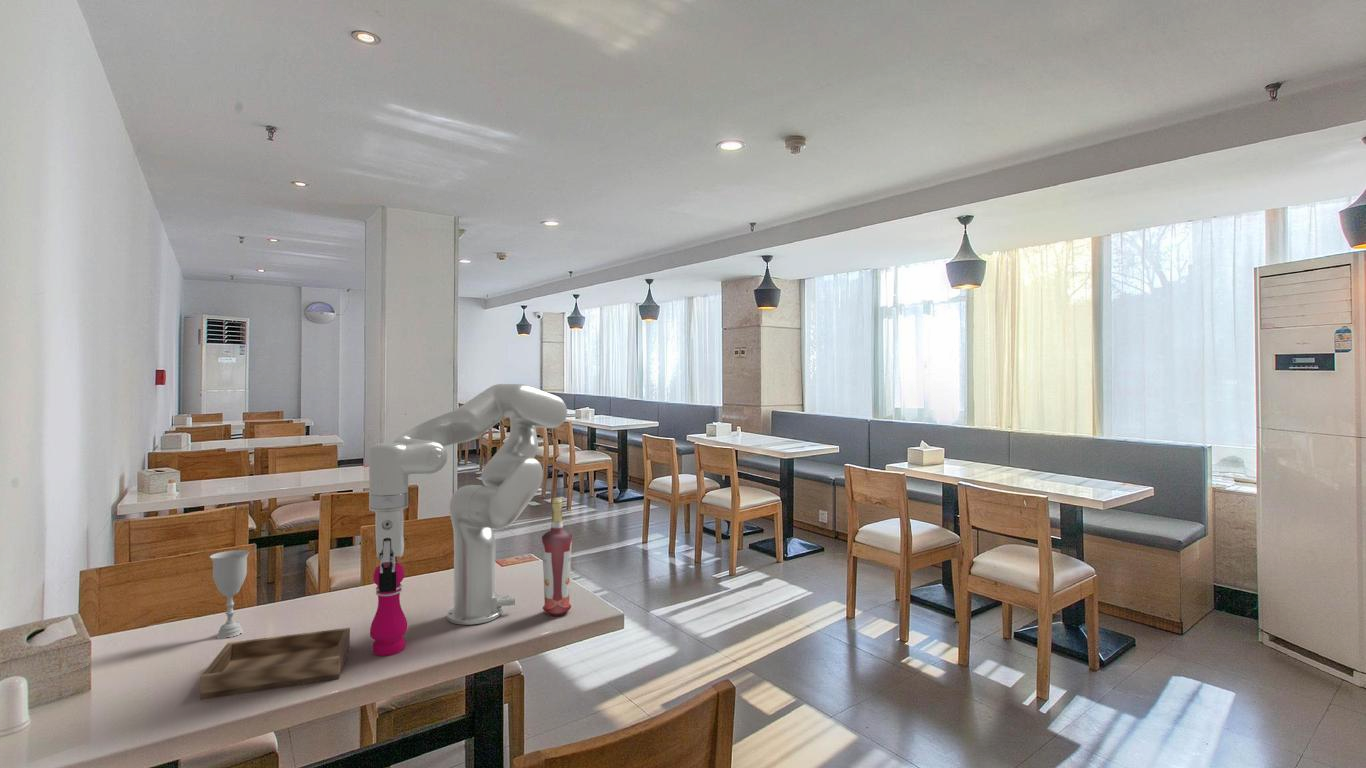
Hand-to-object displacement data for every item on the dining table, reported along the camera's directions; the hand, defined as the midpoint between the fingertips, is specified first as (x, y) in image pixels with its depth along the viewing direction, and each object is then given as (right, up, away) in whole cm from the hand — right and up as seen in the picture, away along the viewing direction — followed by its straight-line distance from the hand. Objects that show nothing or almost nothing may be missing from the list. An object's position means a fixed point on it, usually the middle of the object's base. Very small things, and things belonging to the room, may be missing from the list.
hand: (388, 585), depth 134 cm
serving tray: (-17, -14, -10) cm, 24 cm away
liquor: (+31, -14, +22) cm, 40 cm away
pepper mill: (0, -14, 0) cm, 14 cm away
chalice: (-40, -14, +8) cm, 43 cm away
